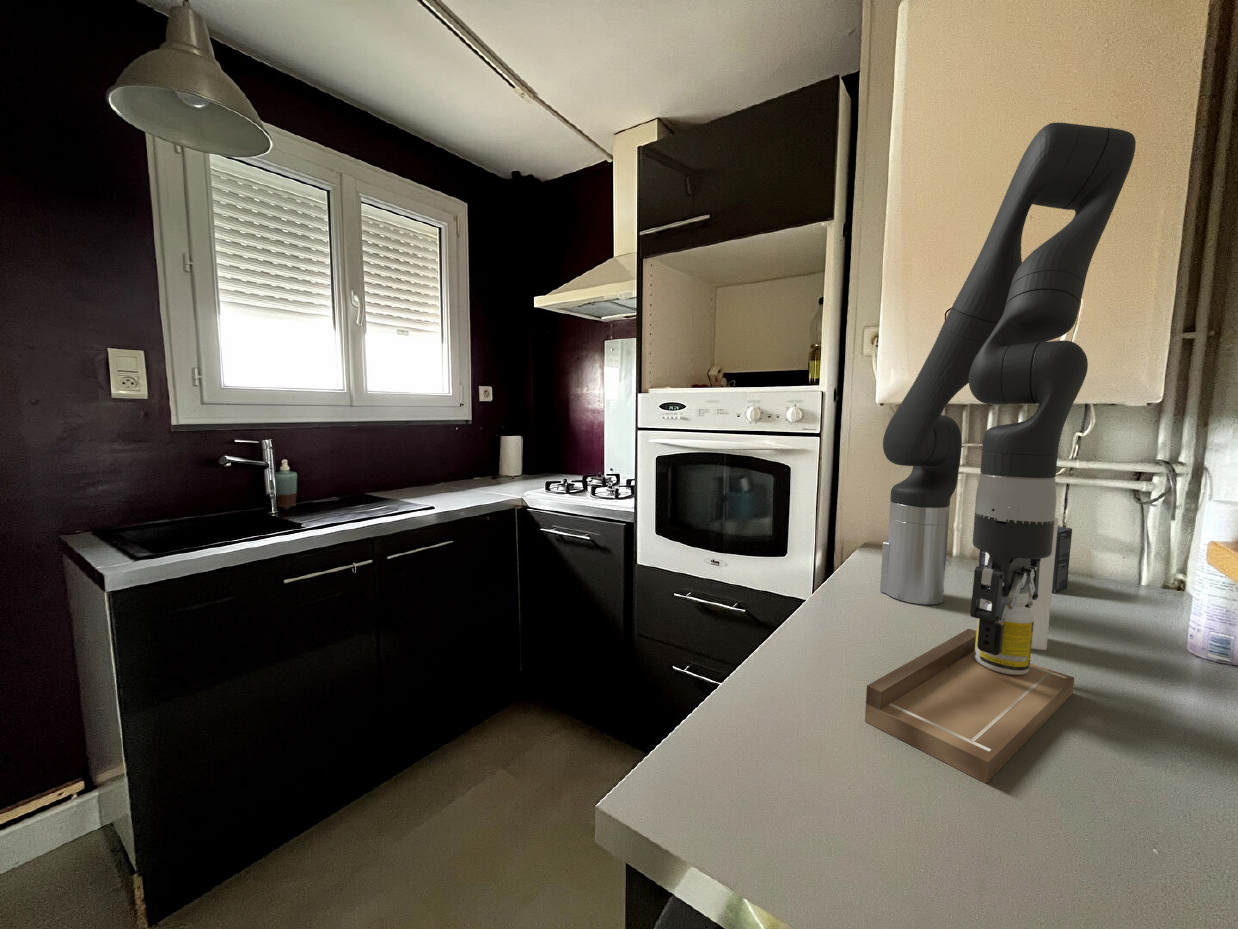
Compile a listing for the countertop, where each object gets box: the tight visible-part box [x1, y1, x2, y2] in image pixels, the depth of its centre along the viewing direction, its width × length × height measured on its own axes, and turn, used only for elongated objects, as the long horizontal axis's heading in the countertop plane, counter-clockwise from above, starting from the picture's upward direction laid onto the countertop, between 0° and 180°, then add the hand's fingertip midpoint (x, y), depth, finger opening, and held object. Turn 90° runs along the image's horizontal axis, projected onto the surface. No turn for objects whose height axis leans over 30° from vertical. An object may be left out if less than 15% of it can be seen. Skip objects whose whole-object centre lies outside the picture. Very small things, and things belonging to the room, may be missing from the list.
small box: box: [978, 526, 1073, 594], centre depth 100 cm, size 13×7×12 cm, turn 32°
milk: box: [985, 516, 1059, 651], centre depth 73 cm, size 6×6×22 cm
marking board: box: [864, 628, 1075, 784], centre depth 56 cm, size 11×26×4 cm, turn 125°
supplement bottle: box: [975, 588, 1034, 675], centre depth 61 cm, size 5×5×10 cm
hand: (1002, 643), depth 61 cm, fingers open, 8 cm apart
